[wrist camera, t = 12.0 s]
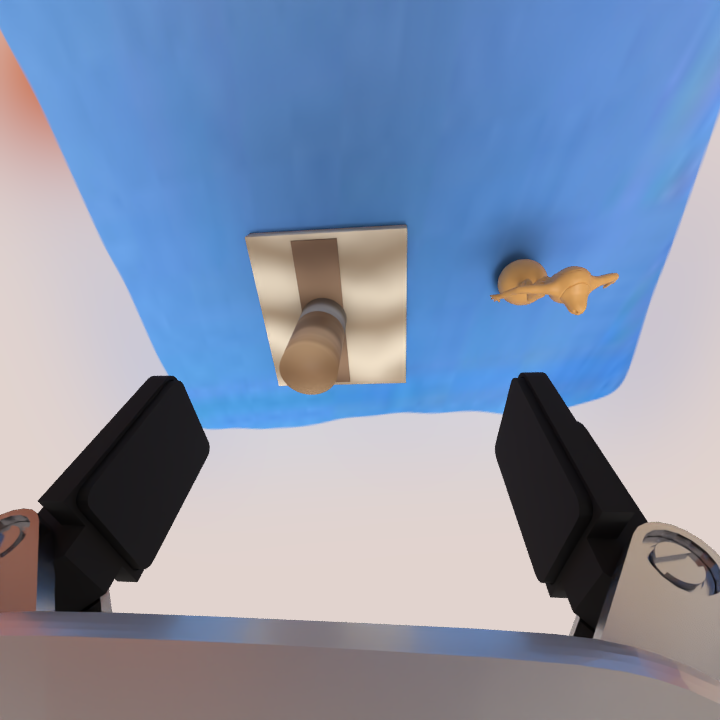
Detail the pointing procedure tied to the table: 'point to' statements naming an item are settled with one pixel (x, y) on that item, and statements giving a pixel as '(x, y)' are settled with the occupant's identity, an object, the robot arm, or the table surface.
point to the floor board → (338, 293)
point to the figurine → (549, 284)
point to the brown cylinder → (315, 348)
